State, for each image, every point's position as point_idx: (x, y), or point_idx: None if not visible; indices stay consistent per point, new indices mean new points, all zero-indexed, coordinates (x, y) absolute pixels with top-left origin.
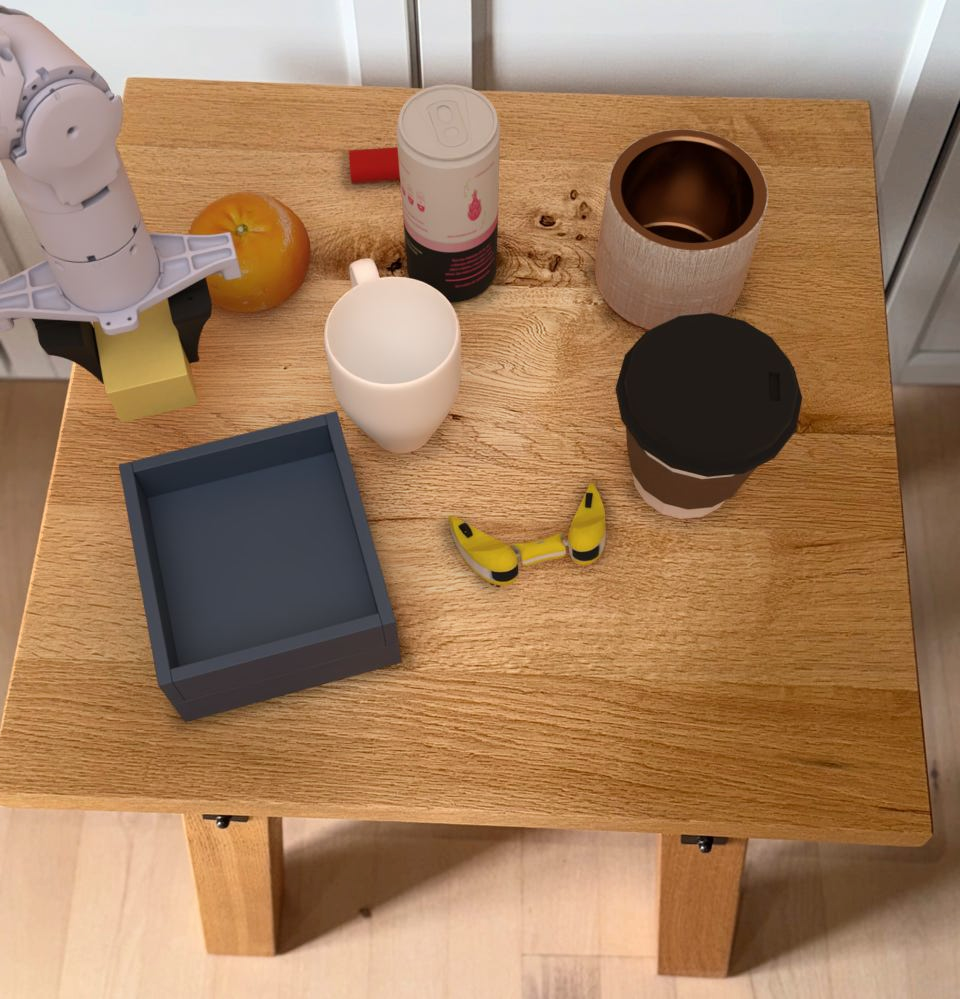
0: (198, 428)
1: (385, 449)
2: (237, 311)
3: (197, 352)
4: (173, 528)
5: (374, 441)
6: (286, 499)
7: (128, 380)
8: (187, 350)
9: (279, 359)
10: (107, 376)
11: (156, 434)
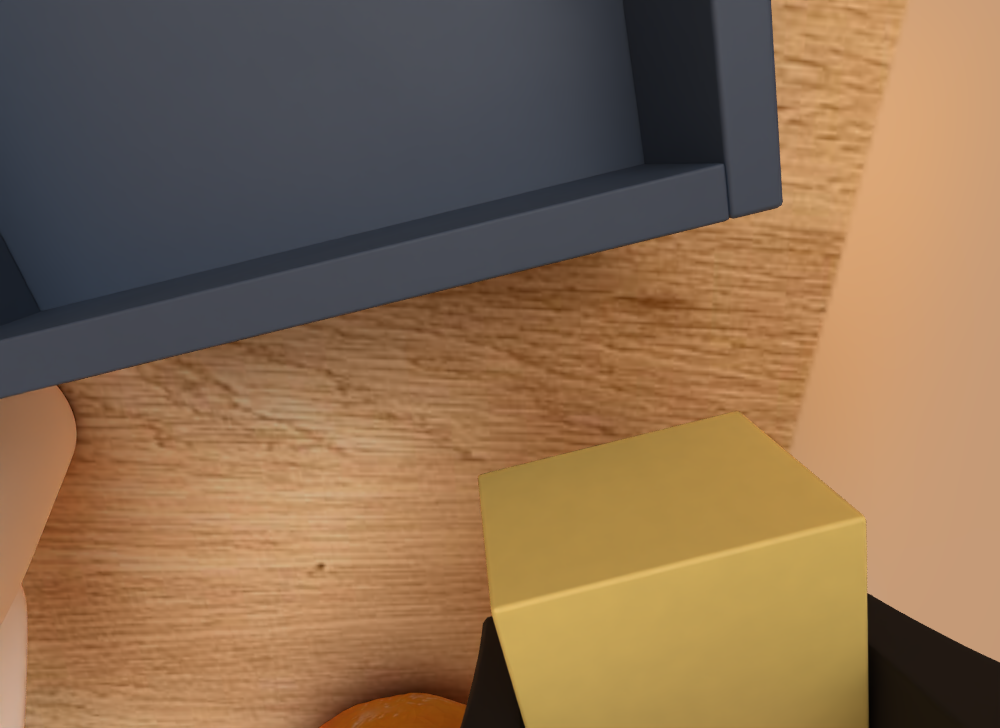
0: (512, 423)
1: None
2: (428, 702)
3: (477, 666)
4: (558, 33)
5: None
6: (170, 130)
7: (759, 578)
8: (508, 686)
9: (337, 586)
10: (847, 595)
11: (608, 410)
